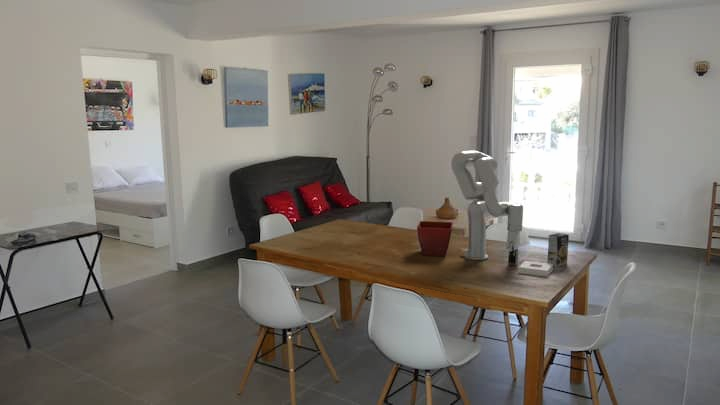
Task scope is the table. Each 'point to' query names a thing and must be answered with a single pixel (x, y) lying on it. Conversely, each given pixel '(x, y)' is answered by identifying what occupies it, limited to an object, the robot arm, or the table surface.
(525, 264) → the outlet
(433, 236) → the plant pot
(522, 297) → the table surface
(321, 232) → the table surface
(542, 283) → the table surface
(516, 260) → the dark grey rectangular block
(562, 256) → the coffee box
